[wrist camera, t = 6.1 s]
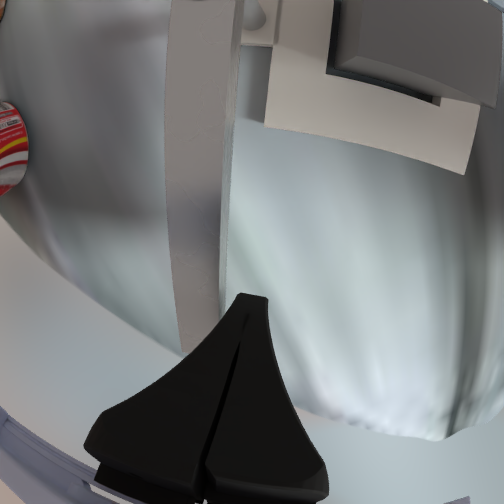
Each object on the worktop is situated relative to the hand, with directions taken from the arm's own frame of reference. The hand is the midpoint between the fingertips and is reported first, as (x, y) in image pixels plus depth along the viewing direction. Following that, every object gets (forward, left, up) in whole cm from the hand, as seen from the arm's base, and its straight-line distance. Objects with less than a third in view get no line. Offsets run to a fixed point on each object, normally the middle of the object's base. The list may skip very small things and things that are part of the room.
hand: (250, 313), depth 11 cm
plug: (-4, -11, -6) cm, 13 cm away
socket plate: (-3, -11, -6) cm, 13 cm away
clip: (+2, -5, 0) cm, 6 cm away
